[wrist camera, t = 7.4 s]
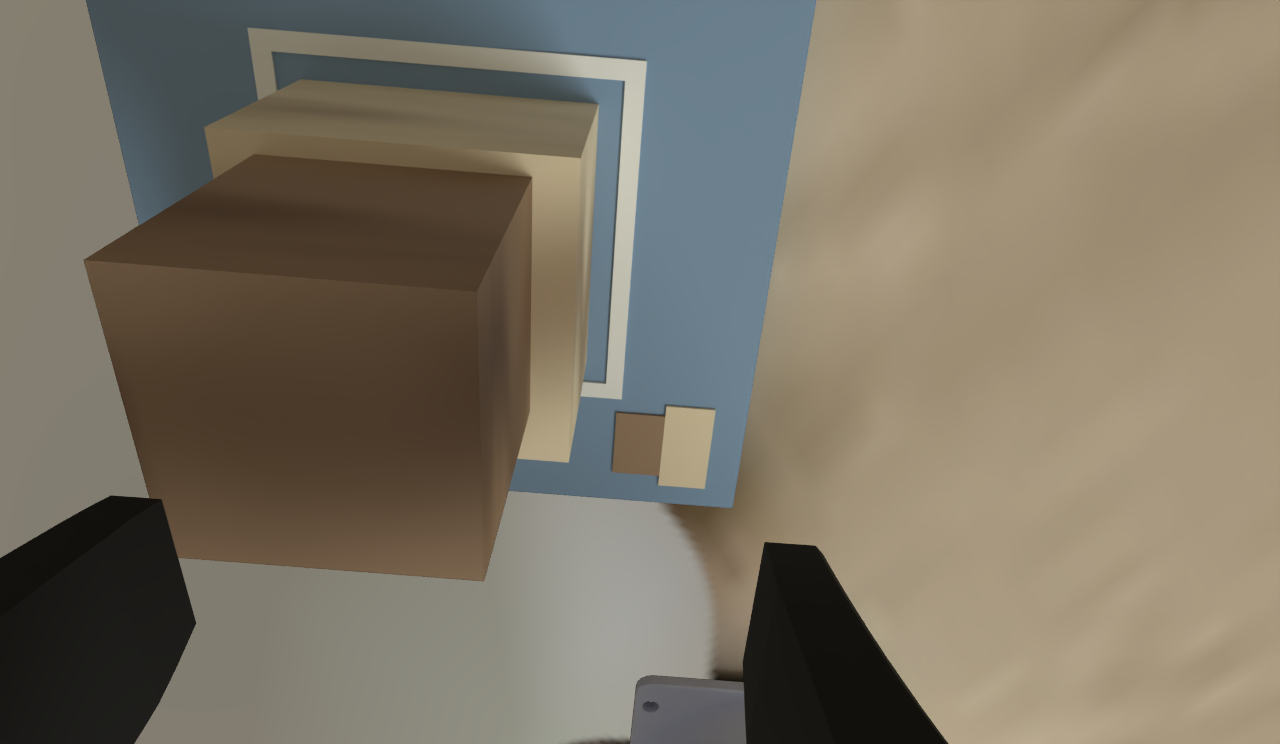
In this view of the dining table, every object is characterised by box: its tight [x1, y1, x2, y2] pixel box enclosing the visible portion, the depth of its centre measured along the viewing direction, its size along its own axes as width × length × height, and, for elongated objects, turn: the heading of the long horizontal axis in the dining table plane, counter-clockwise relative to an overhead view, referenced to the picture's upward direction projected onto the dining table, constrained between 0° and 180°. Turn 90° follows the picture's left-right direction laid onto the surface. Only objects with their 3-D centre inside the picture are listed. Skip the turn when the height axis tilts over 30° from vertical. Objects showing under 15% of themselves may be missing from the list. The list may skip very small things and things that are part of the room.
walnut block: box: [84, 154, 532, 581], centre depth 13 cm, size 4×4×4 cm
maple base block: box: [204, 79, 599, 463], centre depth 16 cm, size 6×6×4 cm
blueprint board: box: [86, 0, 816, 508], centre depth 18 cm, size 14×14×1 cm
